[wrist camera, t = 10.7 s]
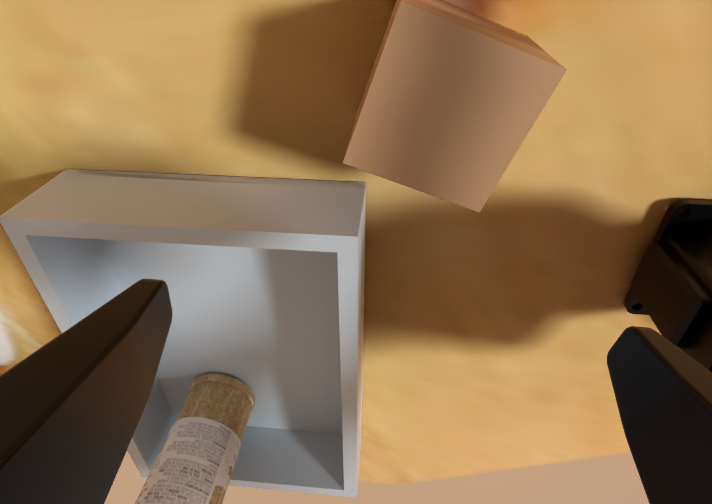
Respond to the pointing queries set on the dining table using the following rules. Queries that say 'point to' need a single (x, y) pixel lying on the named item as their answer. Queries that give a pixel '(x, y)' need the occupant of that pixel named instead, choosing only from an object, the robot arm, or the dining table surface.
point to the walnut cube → (449, 101)
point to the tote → (223, 302)
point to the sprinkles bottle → (201, 444)
